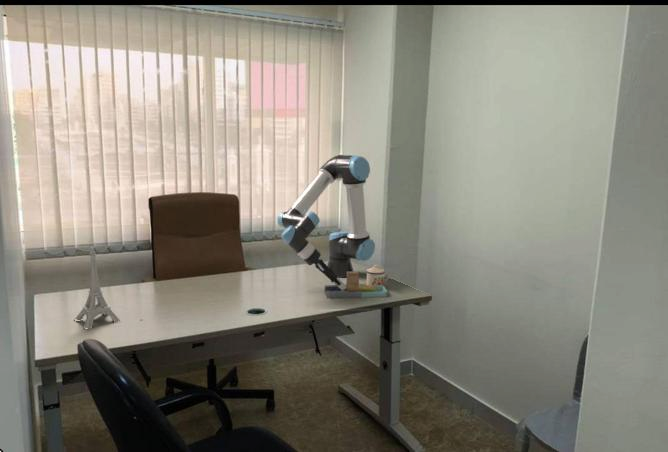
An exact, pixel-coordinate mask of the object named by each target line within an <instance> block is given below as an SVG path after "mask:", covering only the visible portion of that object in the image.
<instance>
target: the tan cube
mask: <svg viewBox="0 0 668 452" xmlns="http://www.w3.org/2000/svg"><path fill="white" fill-rule="evenodd" d="M366 284H367V283H359V289H358V291H361V292H367V286H366Z"/></svg>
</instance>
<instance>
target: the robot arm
mask: <svg viewBox="0 0 668 452" xmlns="http://www.w3.org/2000/svg"><path fill="white" fill-rule="evenodd" d="M370 174H371V167H370V164H369V161H368V159H367V158H365V157H364V156H359V155H347V154H346V155H344V154H339V155H335V156H333V157H331V158H330V159H328V160H327V161H326V162H325V163H323V164H322V166H321V167H320V168H319V169H318V171H317V175H316V176H315V177H314V178H313V179H312V181H311V182H310V183H309V184H308V185H307V187H306V188H305V189H304V191H303V192H302V193H301V194H300V196H298V198H297V199H296V200H295V201H294V203H293V204H292V205H291V206H290V208H288V210H287V211H282V212H280V213H279V214H278V217H277V223H278V226H280V227H282V228H284V230H283V232H282V233H281V235H280V238H281V239H282V240H283V242H284V243H286V245H287V246H289V247H290V248H291V249H292V250H293V251H294V252H295V253H296V254H297V257H300V258H301V259H302V260H304V262H305V264H307V265H308V266H312V265H313V264H314V267H315V268H316V269H318V270H319V271H320V272H321V273H322V274H324V276H325V277H327V278H328V279H329V280H330V283H332V284H335V285H337V286H338V287H339V288H340V289H341V290H342V291H344V290H345V289H346V288H347V286H346V284H345V283H344V282H343V281H342V280H341V279H340V278H347V272H354V268H353V264H352V260H351V259H354V260H357V261H363V262H365V261H369V260H370V259H371V258H372V256H373V255H374V253H375V249H376V243H375V241H374V240H373V239H371V238H370V237H371V236H370V232H369V231H368V230H367V222H366V209H365V206H366V205H365V195H364V185H365V184H366V183H367V182H366V181H367V179H368V178H369V177H370ZM338 179H342V184H343V186H345V189H346V204H347V215H348V217H347V218H348V228H349V231H345V230H343V231H335V232H332V233H330V234H329V240H328V262H327V264H326V263H325V262H324V260H323V259H320V257H321V252H320V251H318V249H317V248H315V246H314V245H313V244H312V243H310V242H309V241H308V240H307V238H308V236H309V235H310V234H311V233H312V232H314V230H315V229H316V228H317V226H318V225H319V223H320V220H321V219H320V217H319V215H318V214H317V213H315V212H314V211H311V210H310V208H311V207H312V206H313V205H314V204H315V203H316V201H317V200H318V199H319V198H320V196H321V195H322V194H323V192H324V191H326V189H327V188H328V187H329V186H330V184H333V183H334V182H335V181H336V180H338Z"/></svg>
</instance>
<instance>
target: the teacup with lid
mask: <svg viewBox="0 0 668 452" xmlns="http://www.w3.org/2000/svg"><path fill="white" fill-rule="evenodd" d="M385 271H386V270H385V269H384V268H381V267H379V266H378V264H374V265H373V266H371V267H370V268H367V269H366V283H365V284H366V285H374V286H384V287H385V283H386V282H387V281H388V280H389V274H388V273H387V272H385ZM385 275H386V276H385Z"/></svg>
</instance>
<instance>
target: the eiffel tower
mask: <svg viewBox="0 0 668 452" xmlns="http://www.w3.org/2000/svg"><path fill="white" fill-rule="evenodd" d="M89 257H90V283H89V291H88V296H87V298H86V299H87V300H86V301H85V303H84V305H82V309H81V311H80V312H79V313H78V314H77V316H76V317H75V318H74V320H75V319H77V320H81V319H83V320H84V317H85V316H86V317H85V323H84V326H83V327H85V328H91V327H93V322H94V320H95V318H96V317H97V316H99V315H102V314H104V315H105V316H109V317H110V319H111V322H112V321H114V322H116V323H118V322H117V321H120V320H121V319H120V318H119V317H118V316H117V315H116V314H115V313H114V311H113V310H112V308H111V305H109V304H108V303H107V302H106V300H105V298H104V295H103V292H104V291H102V290H101V285H100V280H99V275H98V269H97V261H96V257H97V254H96V250H95V247H93V246H91V247H90V250H89ZM106 314H107V315H106ZM104 315H103V316H104ZM114 322H113V323H114Z"/></svg>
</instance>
